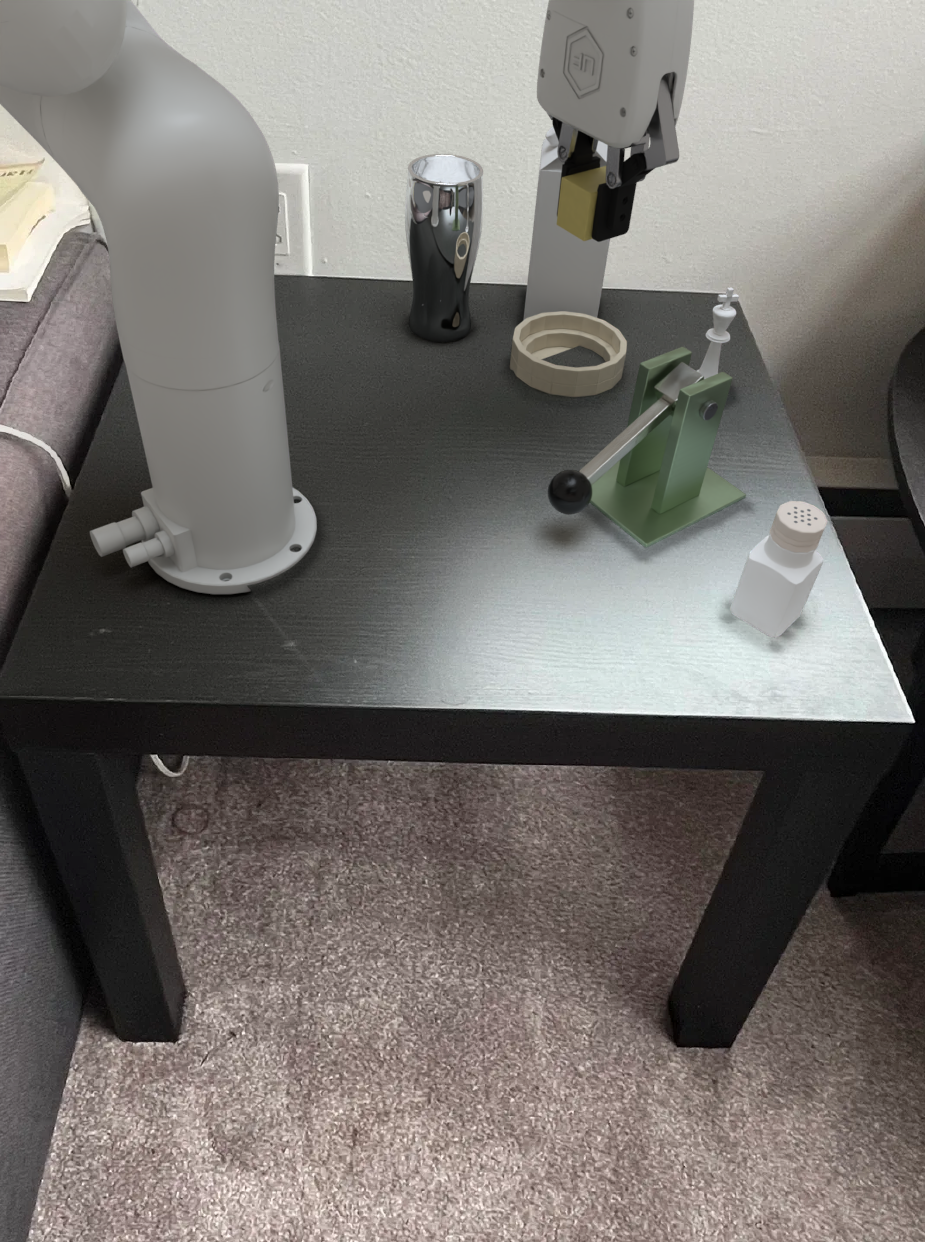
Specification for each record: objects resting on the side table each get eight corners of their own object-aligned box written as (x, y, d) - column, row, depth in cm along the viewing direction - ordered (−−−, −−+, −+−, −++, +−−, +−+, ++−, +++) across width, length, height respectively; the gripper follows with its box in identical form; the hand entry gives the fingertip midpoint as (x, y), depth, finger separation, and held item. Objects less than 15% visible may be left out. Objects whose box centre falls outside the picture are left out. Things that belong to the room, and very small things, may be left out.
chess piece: (738, 405, 88) (768, 302, 81) (686, 407, 88) (712, 304, 80) (719, 375, 92) (747, 274, 85) (669, 377, 91) (693, 275, 84)
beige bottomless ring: (558, 417, 86) (563, 382, 83) (488, 364, 91) (490, 329, 89) (643, 383, 90) (650, 349, 88) (570, 334, 96) (575, 301, 93)
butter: (583, 242, 71) (590, 193, 68) (555, 225, 73) (561, 177, 70) (628, 228, 73) (636, 180, 70) (600, 212, 75) (607, 165, 72)
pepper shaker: (771, 649, 67) (814, 545, 61) (722, 619, 69) (759, 515, 62) (800, 620, 70) (845, 516, 63) (752, 591, 71) (790, 488, 65)
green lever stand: (643, 556, 73) (676, 425, 65) (565, 493, 78) (586, 362, 70) (743, 506, 78) (785, 377, 70) (663, 449, 83) (694, 322, 75)
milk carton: (595, 298, 101) (626, 100, 87) (594, 333, 96) (628, 129, 82) (526, 292, 101) (547, 93, 88) (522, 326, 96) (544, 121, 83)
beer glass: (401, 308, 97) (402, 152, 87) (471, 308, 98) (480, 153, 87) (406, 345, 93) (408, 184, 82) (479, 344, 93) (490, 185, 83)
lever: (573, 530, 71) (562, 507, 68) (545, 506, 72) (533, 482, 70) (713, 403, 72) (708, 375, 69) (682, 383, 73) (676, 354, 71)
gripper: (503, -94, 62) (485, 196, 76) (684, -31, 53) (628, 285, 67) (592, -103, 66) (560, 176, 79) (777, -46, 57) (706, 259, 70)
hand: (592, 223), depth 73 cm, fingers closed on butter, 3 cm apart
